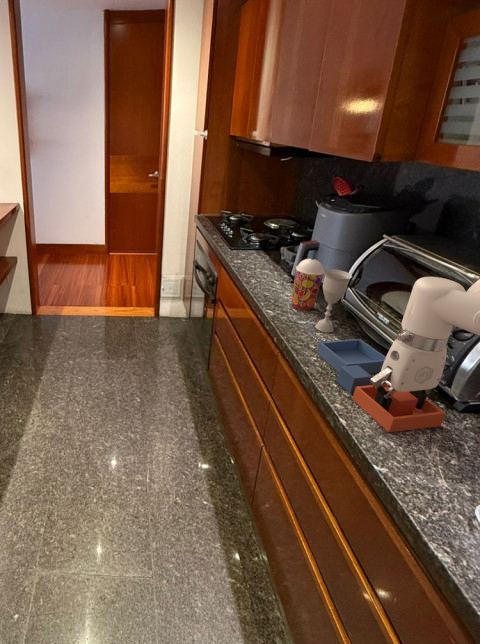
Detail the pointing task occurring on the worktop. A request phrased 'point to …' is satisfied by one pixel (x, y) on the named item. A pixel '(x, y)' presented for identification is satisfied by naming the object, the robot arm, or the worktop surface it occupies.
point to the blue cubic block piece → (353, 377)
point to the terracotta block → (402, 403)
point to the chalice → (332, 294)
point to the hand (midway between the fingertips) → (397, 406)
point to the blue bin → (351, 355)
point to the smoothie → (307, 283)
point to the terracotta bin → (418, 420)
